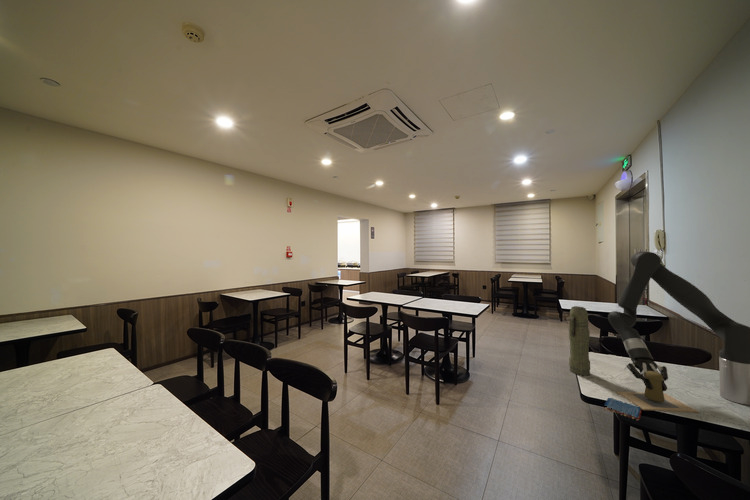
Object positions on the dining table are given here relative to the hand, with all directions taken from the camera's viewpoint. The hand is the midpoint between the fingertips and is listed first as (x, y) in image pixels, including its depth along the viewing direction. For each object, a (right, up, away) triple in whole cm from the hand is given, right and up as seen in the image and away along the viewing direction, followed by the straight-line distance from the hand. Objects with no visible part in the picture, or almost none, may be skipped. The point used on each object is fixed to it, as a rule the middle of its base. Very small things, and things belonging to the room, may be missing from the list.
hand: (657, 389), depth 110 cm
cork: (+1, -5, +2) cm, 5 cm away
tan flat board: (+1, -6, +2) cm, 7 cm away
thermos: (-10, -7, +30) cm, 32 cm away
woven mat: (-18, -7, -3) cm, 20 cm away
